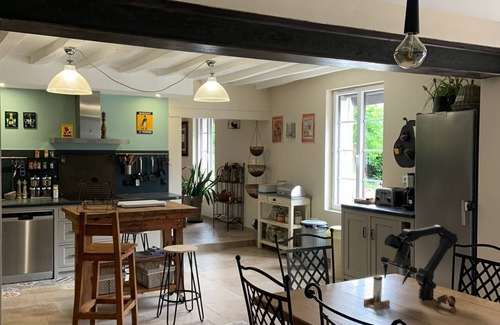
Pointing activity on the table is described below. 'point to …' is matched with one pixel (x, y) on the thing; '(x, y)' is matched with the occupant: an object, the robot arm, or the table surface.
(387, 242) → the robot arm
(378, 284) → the pin
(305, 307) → the table surface
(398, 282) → the table surface
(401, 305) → the table surface
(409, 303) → the table surface
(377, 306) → the slot block
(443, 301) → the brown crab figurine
